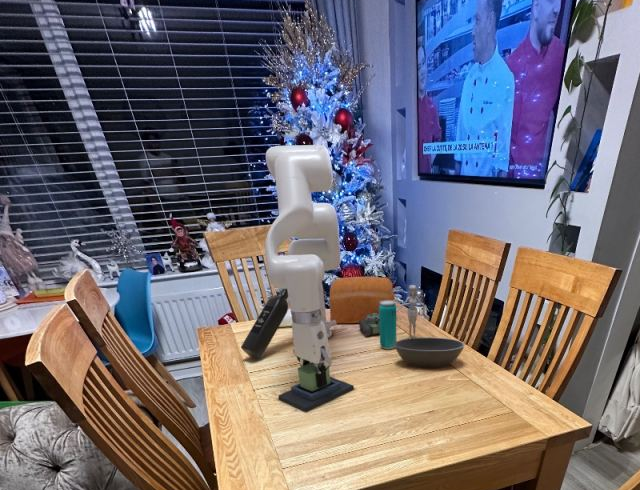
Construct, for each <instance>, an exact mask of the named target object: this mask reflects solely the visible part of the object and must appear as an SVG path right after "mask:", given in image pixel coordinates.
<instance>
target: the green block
mask: <svg viewBox="0 0 640 490" xmlns="http://www.w3.org/2000/svg"><path fill="white" fill-rule="evenodd" d="M321 366H322V365H321V363H320V364H319V367H321ZM297 372H298V379H299V380H298V381H299V384H300V386H301V387H302V388H305V389H307V390H309V391H315V390H317V389H319V387H317V381H316V373H317V371H316V368H315V365H314V363H313V362H310V363H309V364H307V365H304V366H302V367H300V366H299V367H297ZM330 377H331V374H330V367H329V368H328V369H327V371H326V378H327V385H328V384H330V383H331V381H330ZM325 386H326V385H325ZM322 387H323V386H322ZM320 388H321V387H320Z"/></svg>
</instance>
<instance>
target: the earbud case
mask: <svg viewBox="0 0 640 490" xmlns="http://www.w3.org/2000/svg"><path fill="white" fill-rule="evenodd" d="M284 327H285V328H286V327H292V317H291V310H290V308H288V311H287V313H286V315H285V317H284V319H283V320H282V322H281V324H280V326H279V327H278V328H284Z"/></svg>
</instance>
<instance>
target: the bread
mask: <svg viewBox="0 0 640 490" xmlns="http://www.w3.org/2000/svg"><path fill="white" fill-rule="evenodd" d="M383 300H393V301H395V292H394V287H393V283H392V280H391V279H389V278H388V277H385V276H384V277H383V276H382V277H379V276H350V277H341V278H340V277H337V278H335V279H334V280H333V281H332V283H331V286H330V288H329V317H330V321H333V320H335V321H336V324H359V321H360V320H364V319H365V318H367V316H368V315H370V314H371V313H377V314H379V306H380V301H383Z"/></svg>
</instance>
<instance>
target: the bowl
mask: <svg viewBox="0 0 640 490" xmlns="http://www.w3.org/2000/svg"><path fill="white" fill-rule="evenodd" d="M394 345H395V348H394V349H395V350H396V352H397V354H398V356H399V357H400V359H401V360H402V361H403V362H404V363H405V364H406V365H407V366H410V367H415V368H423V369H425V368H426V369H427V368H428V369H431V368H433V369H434V368H435V369H437V368H445V367H449V366H451V365H452V364H453V363H454V362H455V361H456V360H457V359H458V358H459V356H460V355H461V353H462V352H463V350H464V347H465V343H464V342H463V341H461V340H457V339H454V338H453V339H452V338H445V337H415V338H413V337H411V338H410V339H409V338H404V339H399V340H397V342H395V343H394Z"/></svg>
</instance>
